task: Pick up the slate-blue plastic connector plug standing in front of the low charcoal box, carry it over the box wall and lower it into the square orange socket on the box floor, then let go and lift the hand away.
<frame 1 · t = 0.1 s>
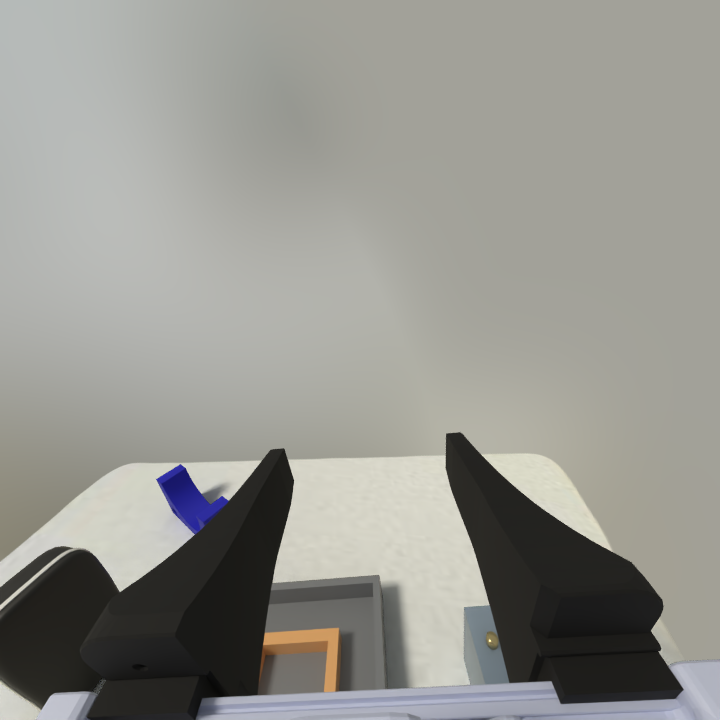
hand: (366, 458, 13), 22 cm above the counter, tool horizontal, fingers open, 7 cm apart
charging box: (292, 704, 22), on the counter
cable clip: (212, 522, 38), on the counter
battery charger: (94, 666, 26), on the counter
connector plug: (501, 693, 21), on the counter
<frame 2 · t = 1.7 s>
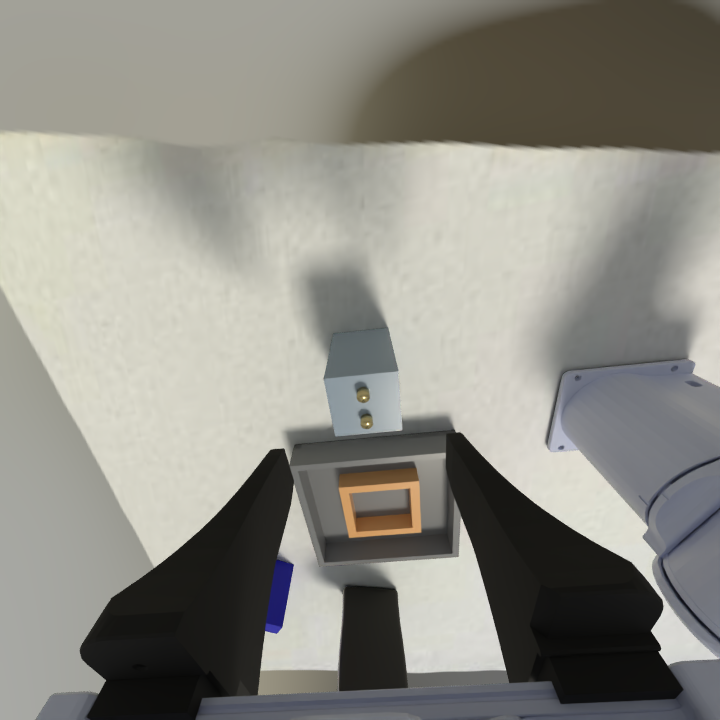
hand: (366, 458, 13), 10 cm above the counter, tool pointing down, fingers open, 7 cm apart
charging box: (380, 492, 29), on the counter
cable clip: (258, 581, 37), on the counter
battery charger: (368, 592, 38), on the counter
connector plug: (363, 355, 23), on the counter
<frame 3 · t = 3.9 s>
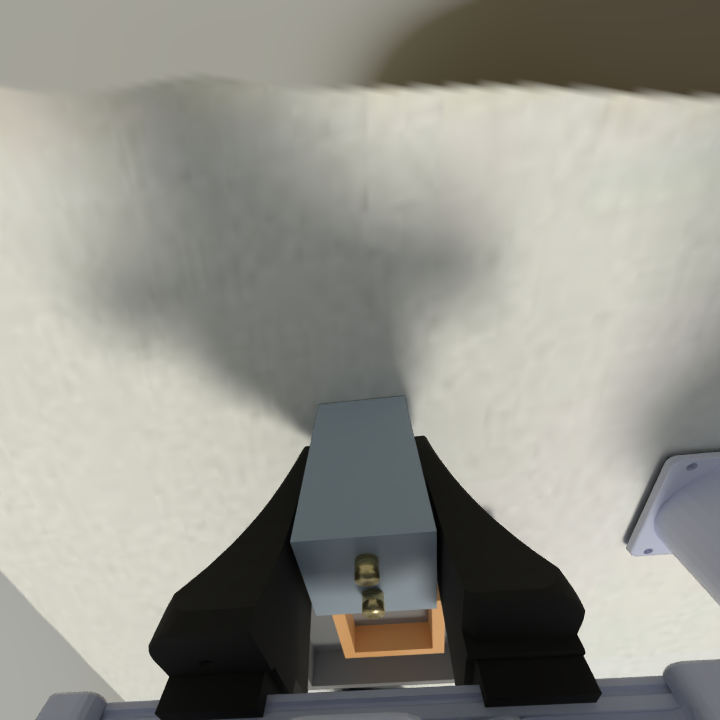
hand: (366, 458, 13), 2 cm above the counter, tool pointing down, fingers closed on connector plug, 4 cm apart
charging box: (388, 596, 22), on the counter
connector plug: (365, 433, 15), on the counter, touching gripper
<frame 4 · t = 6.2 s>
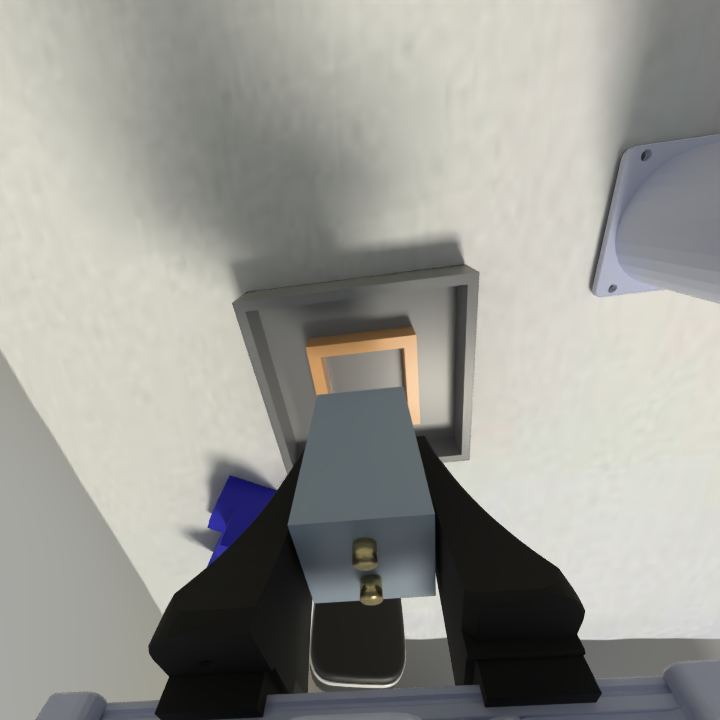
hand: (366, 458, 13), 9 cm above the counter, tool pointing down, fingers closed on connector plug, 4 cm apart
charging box: (366, 373, 22), on the counter
cable clip: (237, 518, 30), on the counter
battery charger: (357, 528, 31), on the counter
connector plug: (364, 424, 15), point 8 cm above the counter, touching gripper
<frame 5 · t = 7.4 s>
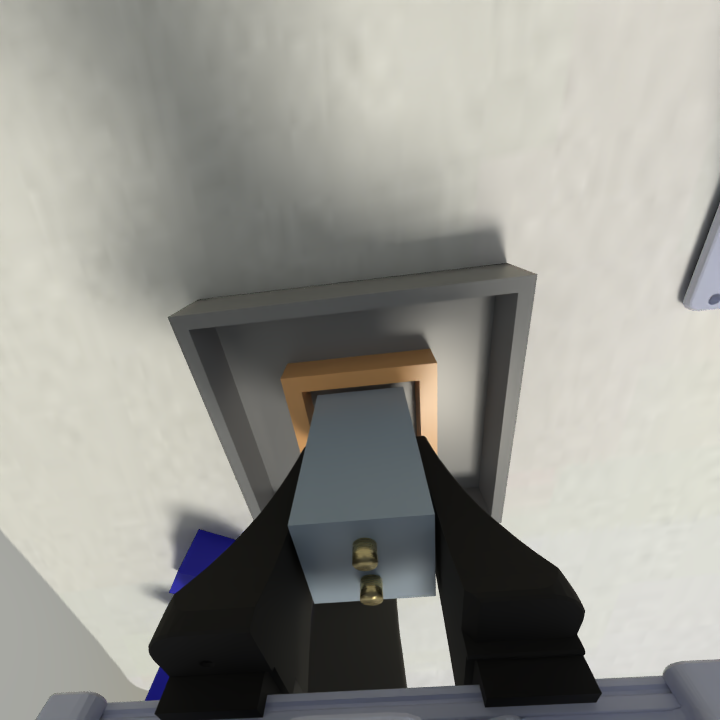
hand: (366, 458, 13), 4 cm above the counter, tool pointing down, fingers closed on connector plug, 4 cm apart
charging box: (365, 408, 17), on the counter
cable clip: (211, 574, 25), on the counter
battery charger: (352, 586, 25), on the counter
connector plug: (364, 425, 15), point 2 cm above the counter, touching gripper
when the fingers open (3 cm above the counter, at t = 8.3 s): connector plug drops 1 cm, resting on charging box.
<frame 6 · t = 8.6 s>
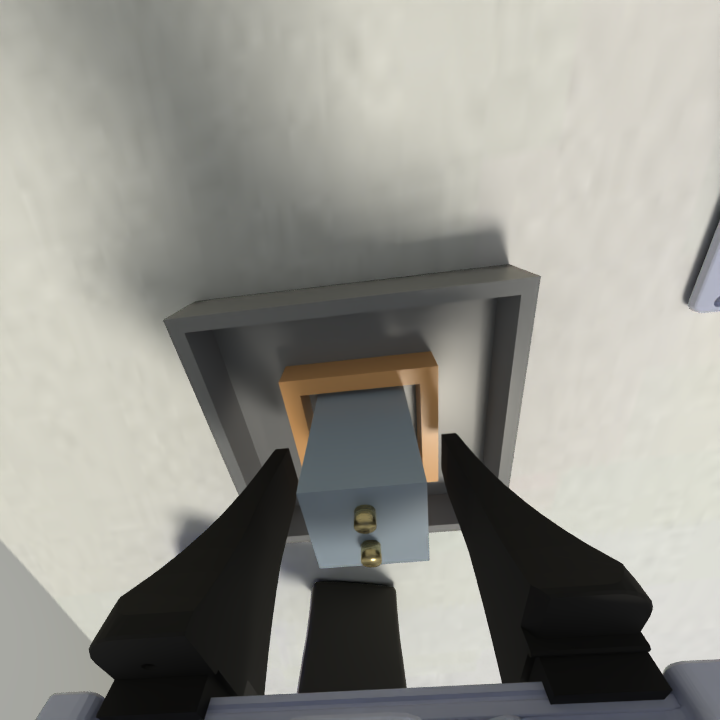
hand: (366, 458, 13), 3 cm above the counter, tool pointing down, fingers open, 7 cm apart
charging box: (365, 411, 16), on the counter
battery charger: (352, 590, 25), on the counter
connector plug: (364, 411, 16), resting on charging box
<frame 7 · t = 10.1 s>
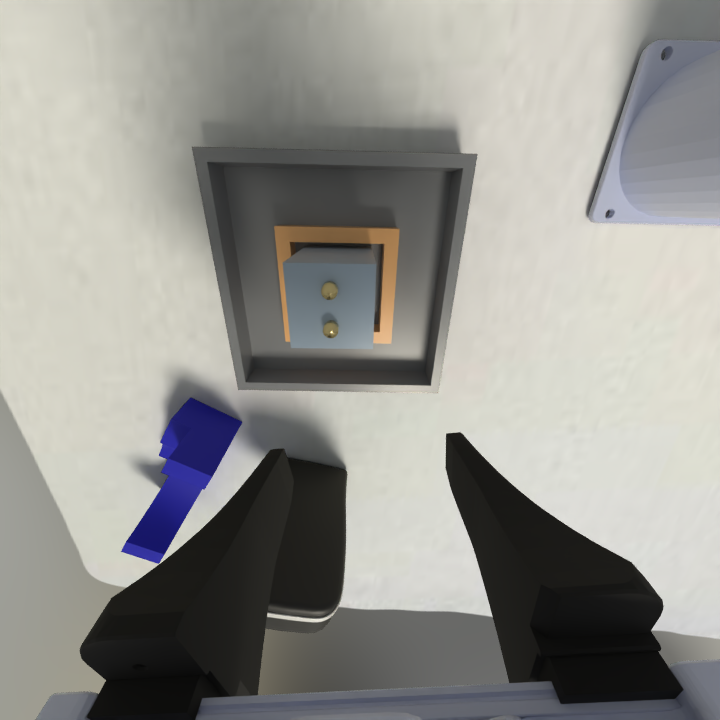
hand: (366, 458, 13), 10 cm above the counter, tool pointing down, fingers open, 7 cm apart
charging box: (339, 282, 20), on the counter
cable clip: (194, 452, 28), on the counter
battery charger: (309, 473, 29), on the counter
connector plug: (339, 278, 20), resting on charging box
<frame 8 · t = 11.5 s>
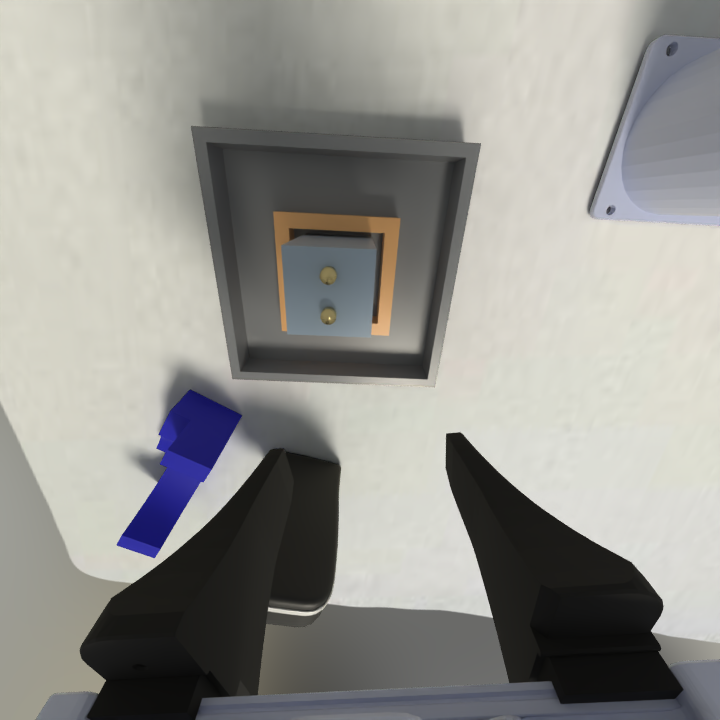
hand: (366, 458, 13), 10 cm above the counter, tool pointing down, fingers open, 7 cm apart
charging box: (338, 272, 20), on the counter
cable clip: (192, 445, 27), on the counter
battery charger: (303, 467, 28), on the counter
connector plug: (338, 268, 19), resting on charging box
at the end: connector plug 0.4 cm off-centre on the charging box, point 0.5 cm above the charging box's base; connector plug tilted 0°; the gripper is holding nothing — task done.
